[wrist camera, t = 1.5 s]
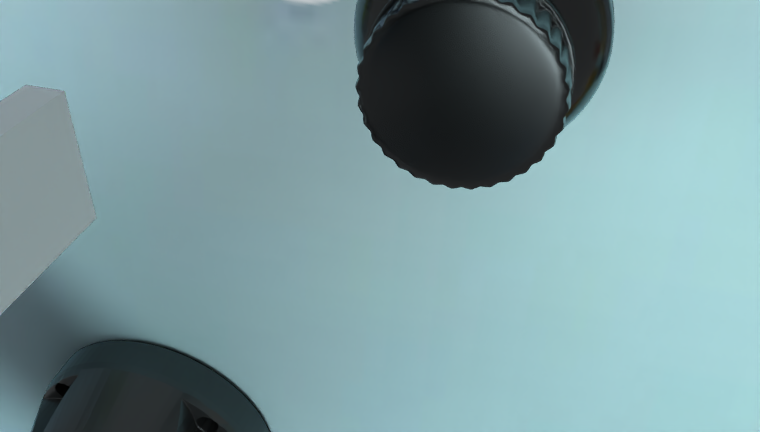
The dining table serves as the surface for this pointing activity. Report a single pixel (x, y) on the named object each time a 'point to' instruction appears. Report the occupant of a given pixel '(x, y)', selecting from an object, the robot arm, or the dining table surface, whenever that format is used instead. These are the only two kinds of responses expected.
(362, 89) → the supplement bottle
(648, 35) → the dining table surface
